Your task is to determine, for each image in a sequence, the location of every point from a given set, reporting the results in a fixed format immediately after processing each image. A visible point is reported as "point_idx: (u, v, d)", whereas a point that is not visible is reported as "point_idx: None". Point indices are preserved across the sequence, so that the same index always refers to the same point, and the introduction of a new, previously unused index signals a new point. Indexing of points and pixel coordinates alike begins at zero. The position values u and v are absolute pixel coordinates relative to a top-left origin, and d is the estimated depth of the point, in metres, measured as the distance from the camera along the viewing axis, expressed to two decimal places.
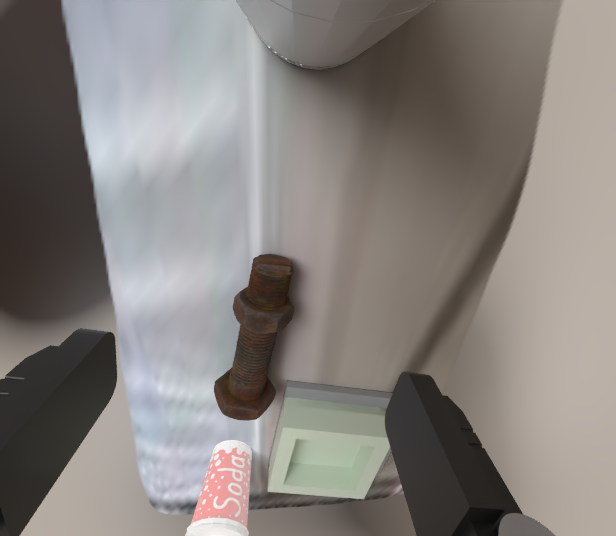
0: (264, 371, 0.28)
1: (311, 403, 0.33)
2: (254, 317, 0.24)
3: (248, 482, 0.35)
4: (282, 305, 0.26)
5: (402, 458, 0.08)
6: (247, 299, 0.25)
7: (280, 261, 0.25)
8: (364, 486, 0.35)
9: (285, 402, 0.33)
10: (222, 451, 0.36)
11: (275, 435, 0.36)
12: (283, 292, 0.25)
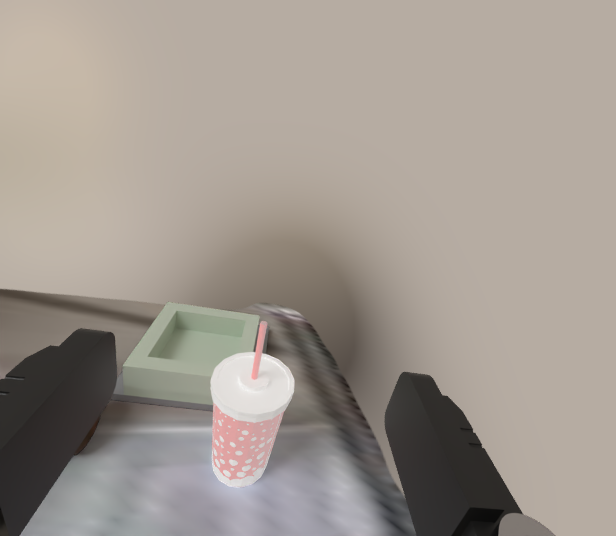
0: None
1: None
2: None
3: None
4: None
5: (402, 458, 0.08)
6: None
7: None
8: (238, 315, 0.39)
9: (124, 388, 0.29)
10: (213, 459, 0.25)
11: (195, 403, 0.30)
12: None
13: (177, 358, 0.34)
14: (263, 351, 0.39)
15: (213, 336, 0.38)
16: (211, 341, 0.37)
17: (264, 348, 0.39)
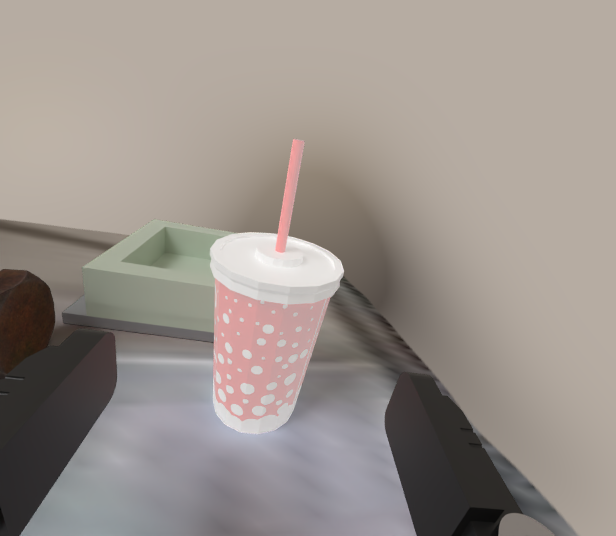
0: None
1: None
2: None
3: None
4: None
5: (402, 458, 0.08)
6: None
7: None
8: None
9: (87, 305, 0.20)
10: (215, 392, 0.16)
11: (189, 330, 0.21)
12: None
13: None
14: None
15: None
16: None
17: None
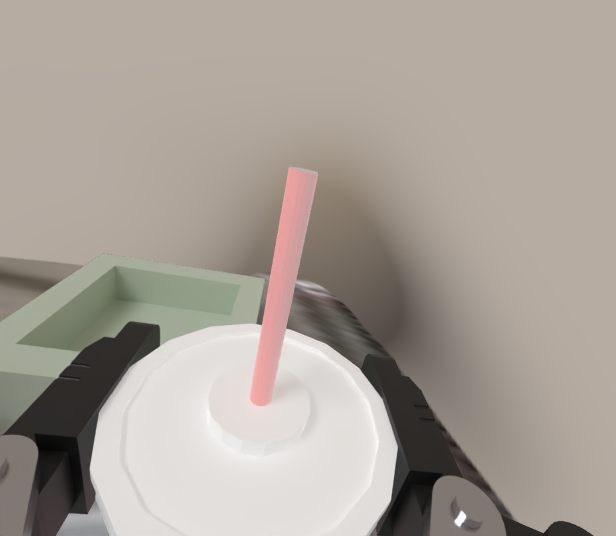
0: None
1: None
2: None
3: None
4: None
5: None
6: None
7: None
8: (228, 277, 0.22)
9: None
10: None
11: None
12: None
13: None
14: None
15: (183, 313, 0.21)
16: (178, 321, 0.21)
17: None
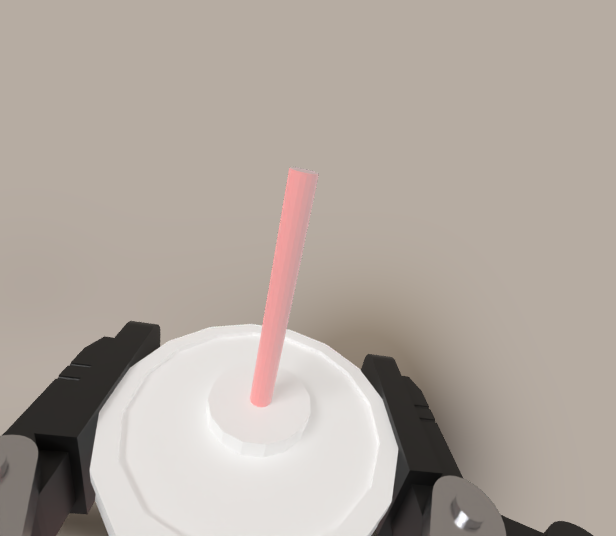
0: None
1: None
2: None
3: None
4: None
5: None
6: None
7: None
8: None
9: None
10: None
11: None
12: None
13: None
14: None
15: None
16: None
17: None
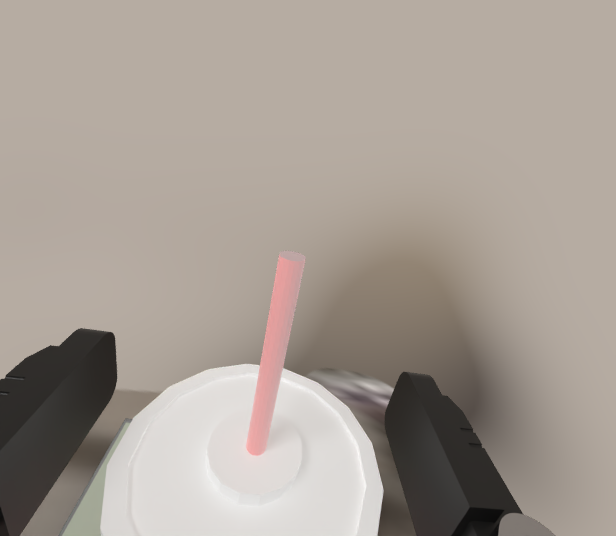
0: None
1: None
2: None
3: None
4: None
5: (402, 458, 0.08)
6: None
7: None
8: None
9: None
10: None
11: None
12: None
13: None
14: None
15: None
16: None
17: None
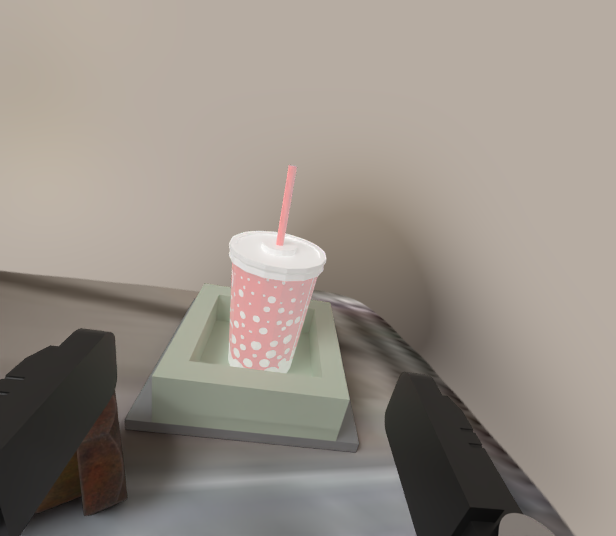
0: None
1: None
2: None
3: None
4: None
5: (402, 458, 0.08)
6: None
7: None
8: None
9: (152, 412, 0.18)
10: (231, 352, 0.22)
11: (263, 434, 0.19)
12: None
13: (226, 363, 0.23)
14: None
15: None
16: None
17: None
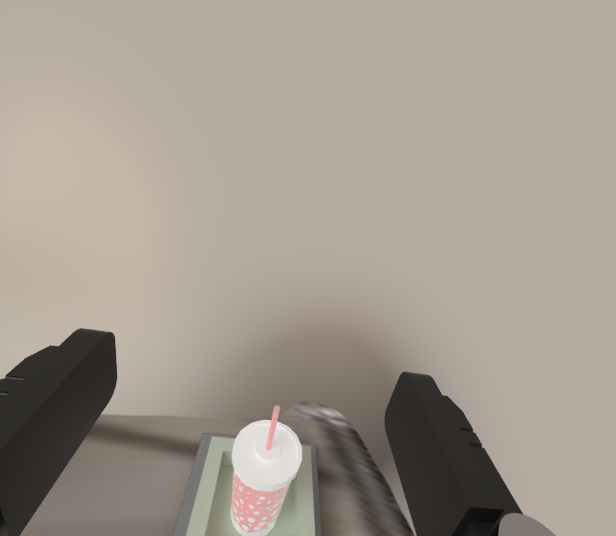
0: None
1: None
2: None
3: None
4: None
5: (402, 458, 0.08)
6: None
7: None
8: None
9: None
10: (233, 515, 0.29)
11: None
12: None
13: (229, 519, 0.30)
14: (315, 487, 0.35)
15: None
16: None
17: (316, 482, 0.36)
